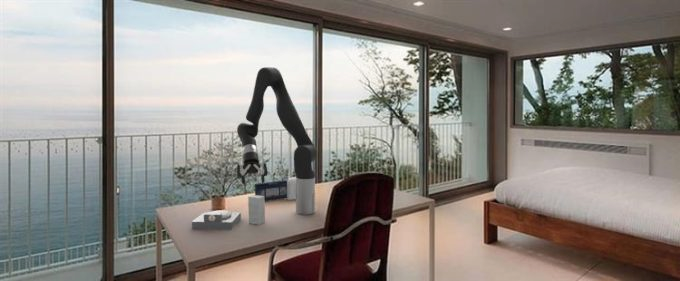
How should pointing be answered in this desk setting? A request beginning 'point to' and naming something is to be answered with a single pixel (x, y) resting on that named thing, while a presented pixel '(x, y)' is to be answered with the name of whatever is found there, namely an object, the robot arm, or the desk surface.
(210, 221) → the scale
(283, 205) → the desk surface
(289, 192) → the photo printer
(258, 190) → the vhs cassette tape
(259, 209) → the skincare box
